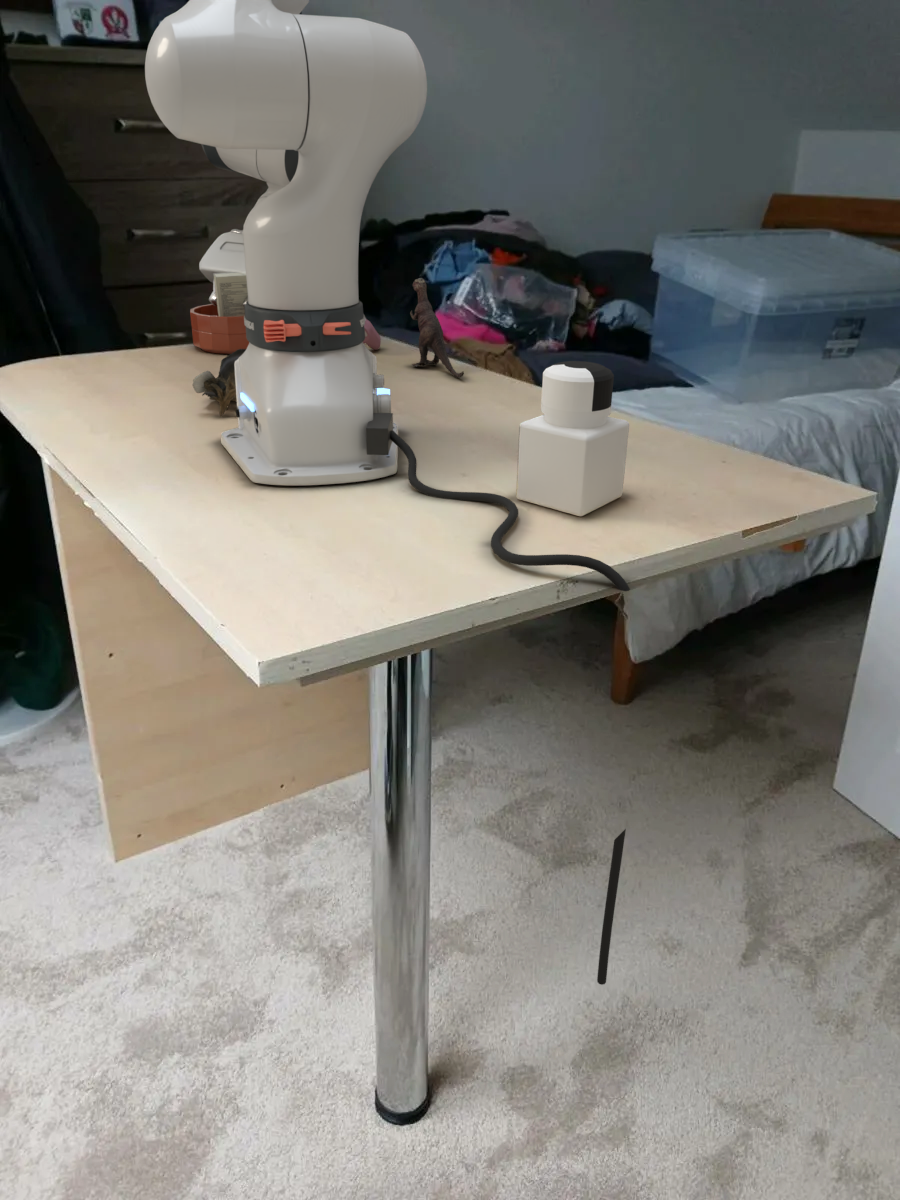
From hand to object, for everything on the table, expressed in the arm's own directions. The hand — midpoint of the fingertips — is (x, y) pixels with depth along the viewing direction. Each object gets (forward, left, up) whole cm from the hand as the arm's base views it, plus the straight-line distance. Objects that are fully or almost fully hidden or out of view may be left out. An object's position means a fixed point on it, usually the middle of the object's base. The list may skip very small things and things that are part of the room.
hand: (231, 306), depth 142 cm
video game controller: (-6, -16, -6) cm, 18 cm away
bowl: (0, 0, -6) cm, 6 cm away
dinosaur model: (-22, -27, -6) cm, 36 cm away
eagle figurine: (-37, +2, -6) cm, 37 cm away
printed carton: (0, 0, -6) cm, 6 cm away
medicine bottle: (-75, -27, -6) cm, 80 cm away
